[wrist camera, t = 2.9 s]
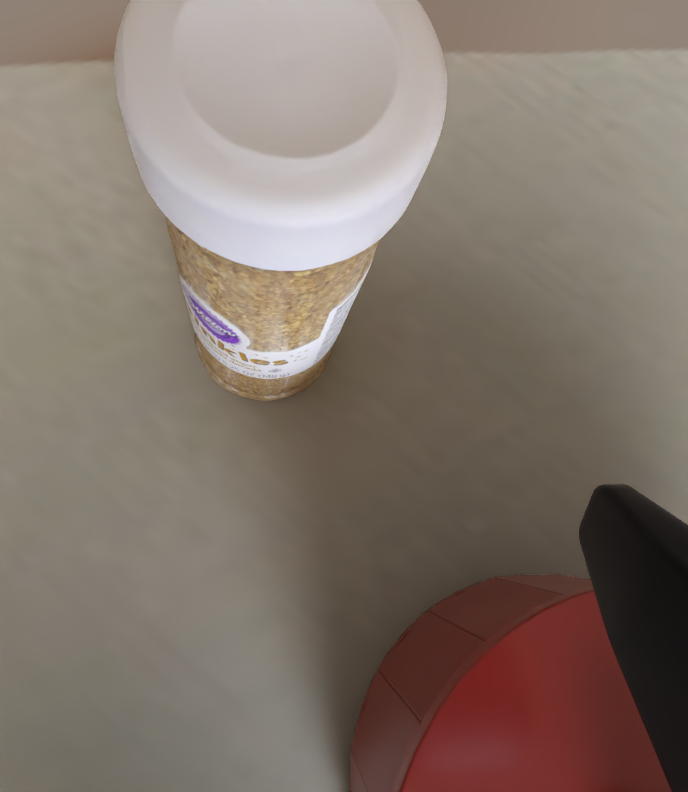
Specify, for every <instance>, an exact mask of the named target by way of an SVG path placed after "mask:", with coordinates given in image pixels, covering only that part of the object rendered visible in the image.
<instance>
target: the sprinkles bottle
mask: <svg viewBox="0 0 688 792" xmlns="http://www.w3.org/2000/svg"><path fill="white" fill-rule="evenodd" d="M114 80H115V87H116V93H117V98H118V103H119V106H120V110H121V114H122V118H123V122H124V126H125V129H126V133H127V137H128V140H129V143H130V147H131V150H132V153H133V156H134V159H135V162H136V165H137V168H138V170H139V173H140V175H141V178H142V180H143V182H144V184H145V187H146V189H147V191H148V192H149V194H150V195H151V197H152V198H153V200H154V201H155V203H156V204H157V206H158V207H159V208H160V210H161V211H162V212H163V213H164V215H165V219H166V222H167V226H168V231H169V235H170V237H171V240H172V243H173V245H174V251H175V254H176V259H177V264H178V274H179V279H180V283H181V287H182V290H183V294H184V298H185V302H186V305H187V309H188V312H189V316H190V319H191V322H192V325H193V328H194V330H195V342H196V347H197V349H198V353H199V356H200V358H201V360H202V362H203V364H204V366H205V367H206V369H207V370H208V372H209V374H210V375H211V377H212V378H213V379H214V380H215V381H217V382H218V383H219V384H220V385H221V386H222V387H223V388H224V389H226V390H228V391H230V392H233V393H235V394H237V395H239V396H241V397H244V398H248V399H255V400H266V401H273V400H277V399H282V398H286V397H289V396H292V395H294V394H296V393H297V392H299V391H302V390H303V389H305V388H306V387H307V386H309V385H310V384H311V383H312V382H313V381H314V380H315V379H316V378H317V377H318V376H319V375H320V374H321V373H322V372H323V369H324V367H325V365H326V362H327V361H328V359H329V357H330V354H331V350H332V346H333V344H334V342H335V340H336V339H337V337H338V335H339V333H340V331H341V328H342V326H343V324H344V322H345V319H346V317H347V315H348V313H349V311H350V308H351V306H352V304H353V302H354V300H355V298H356V296H357V294H358V292H359V290H360V287H361V285H362V283H363V281H364V279H365V277H366V275H367V273H368V271H369V268H370V266H371V263H372V260H373V257H374V253H375V249H376V247H377V245H378V243H379V241H380V238H382V237H383V236H384V235H385V234H386V233H387V232H388V231H389V230H390V229H391V228H392V227H393V226H394V224H395V223H396V222H397V221H398V220H399V219H400V217H401V216H402V214H403V213H404V211H405V210H406V208H407V207H408V205H409V203H410V201H411V199H412V197H413V195H414V193H415V191H416V189H417V187H418V185H419V183H420V181H421V179H422V177H423V175H424V173H425V171H426V169H427V166H428V164H429V162H430V159H431V157H432V155H433V152H434V150H435V147H436V145H437V143H438V140H439V137H440V134H441V131H442V127H443V123H444V119H445V113H446V104H447V71H446V65H445V61H444V58H443V52H442V49H441V46H440V43H439V40H438V38H437V35H436V33H435V31H434V28H433V26H432V24H431V22H430V19H429V17H428V15H427V14H426V12H425V11H424V9H423V7H422V6H421V4H420V3H419V1H418V0H130V1H129V3H128V5H127V7H126V10H125V12H124V15H123V17H122V19H121V22H120V27H119V31H118V35H117V39H116V45H115V54H114Z"/></svg>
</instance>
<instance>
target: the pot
mask: <svg viewBox="0 0 688 792" xmlns="http://www.w3.org/2000/svg"><path fill="white" fill-rule="evenodd" d="M590 586H593V585H592V582H591V580H590V579H584V578H579V577H573V576H568V575H562V574H550V575H526V574H521V575H513V576H504V577H494V578H490V579H488V580H486V581H483V582H479V583H476V584H474V585H471V586H469V587H467V588H464V589H462V590H460V591H457V592H455V593H454V594H452V595H450V596H449V597H447V598H445V599H444V600H442V601H440V602H439V603H437V604H435V605H434V606H433V607H432V608H430V609H429V610H428V611H427V612H425V613H424V614H423V615H422V616H420V617H419V618H418V619H417V620H416V621H415V622H414V623H413V624H412V625H411V626H410V627H409V628H408V629H407V630H406V631H405V632H404V633H403V634H402V635H401V636H400V638H399V639H398V640H397V642H396V643H395V644H394V646H393V647H392V648H391V650H390V651H389V653H388V654H387V655H386V657H385V658H384V660H383V662H382V663H381V665H380V667H379V669H378V671H377V672H376V674H375V676H374V678H373V680H372V682H371V684H370V687H369V689H368V691H367V694H366V696H365V699H364V701H363V704H362V707H361V710H360V714H359V718H358V721H357V725H356V728H355V733H354V739H353V743H352V746H351V751H350V754H351V760H350V792H392V791H393V787H394V784H395V781H396V779H397V776H398V774H399V771H400V768H401V766H402V763H403V761H404V758H405V755H406V753H407V750H408V748H409V745H410V743H411V741H412V740H413V738H414V736H415V734H416V732H417V730H418V728H419V726H420V724H421V723H422V721H423V719H424V717H425V715H426V713H427V711H428V709H429V708H430V707H431V705H432V704H433V702H434V701H435V699H436V698H437V697H438V695H439V694H440V692H441V691H442V689H443V688H444V687H445V685H446V684H447V682H448V681H449V680H450V678H451V677H452V676H453V675H454V673H455V672H456V671H457V670H458V669H459V668H460V667H461V666H462V665H463V664H464V663H465V661H466V660H467V659H468V658H469V657H470V656H471V655H472V654H473V653H474V652H475V651H476V649H477V648H479V647H480V646H481V645H482V644H483V643H485V642H486V641H487V640H488V639H489V638H491V637H492V636H493V635H494V634H495V633H497V632H498V631H499V630H500V629H501V628H503V627H504V626H505V625H507V624H508V623H510V622H511V621H513V620H515V619H516V618H518V617H519V616H521V615H523V614H524V613H526V612H528V611H529V610H531V609H532V608H534V607H536V606H538V605H540V604H542V603H545V602H547V601H549V600H552V599H554V598H556V597H558V596H561V595H563V594H565V593H568V592H571V591H575V590H579V589H582V588H586V587H590Z"/></svg>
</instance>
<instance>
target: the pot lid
mask: <svg viewBox="0 0 688 792" xmlns="http://www.w3.org/2000/svg"><path fill="white" fill-rule="evenodd" d="M392 792H672V791H671V789H670V786H669V784H668V781H667V779H666V777H665V774H664V772H663V769H662V767H661V765H660V762H659V760H658V757H657V755H656V752H655V750H654V748H653V745H652V743H651V740H650V738H649V736H648V733H647V731H646V728H645V726H644V724H643V721H642V719H641V716H640V714H639V711H638V709H637V707H636V704H635V702H634V699H633V697H632V695H631V692H630V690H629V687H628V685H627V682H626V680H625V678H624V675H623V673H622V670H621V668H620V666H619V663H618V661H617V658H616V656H615V653H614V651H613V648H612V646H611V643H610V640H609V638H608V635H607V631H606V628H605V625H604V622H603V619H602V616H601V612H600V609H599V605H598V602H597V599H596V595H595V592H594V588H593V586H590V587H586V588H582V589H579V590H575V591H571V592H568V593H565V594H563V595H561V596H558V597H556V598H554V599H552V600H549V601H547V602H545V603H542V604H540V605H538V606H536V607H534V608H532V609H531V610H529V611H528V612H526V613H524V614H523V615H521V616H519V617H518V618H516V619H515V620H513V621H511V622H510V623H508V624H507V625H505V626H504V627H503V628H501V629H500V630H499V631H498V632H497V633H495V634H494V635H493V636H492V637H491V638H489V639H488V640H487V641H486V642H485V643H483V644H482V645H481V646H480V647H479V648H477V649H476V651H475V652H474V653H473V654H472V655H471V656H470V657H469V658H468V659H467V660H466V661H465V663H464V664H463V665H462V666H461V667H460V668H459V669H458V670H457V671H456V672H455V673H454V675H453V676H452V677H451V678H450V680H449V681H448V682H447V684H446V685H445V687H444V688H443V689H442V691H441V692H440V694H439V695H438V697H437V698H436V699H435V701H434V702H433V704H432V705H431V707H430V708H429V709H428V711H427V713H426V715H425V717H424V719H423V721H422V723H421V724H420V726H419V728H418V730H417V732H416V734H415V736H414V738H413V740H412V741H411V743H410V745H409V748H408V750H407V753H406V755H405V758H404V761H403V763H402V766H401V768H400V771H399V774H398V776H397V779H396V781H395V784H394V787H393V791H392Z"/></svg>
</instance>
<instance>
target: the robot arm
mask: <svg viewBox="0 0 688 792" xmlns="http://www.w3.org/2000/svg"><path fill="white" fill-rule="evenodd" d="M579 540H580V545H581V548H582V551H583V555H584V558H585V561H586V565H587V568H588V572H589V575H590V578H591V582H592V585H593V588H594V592H595V595H596V599H597V602H598V605H599V609H600V612H601V616H602V619H603V622H604V625H605V628H606V631H607V635H608V638H609V640H610V643H611V646H612V648H613V651H614V653H615V656H616V658H617V661H618V663H619V666H620V668H621V670H622V673H623V675H624V678H625V680H626V682H627V685H628V687H629V690H630V692H631V695H632V697H633V699H634V702H635V704H636V707H637V709H638V711H639V714H640V716H641V719H642V721H643V724H644V726H645V728H646V731H647V733H648V736H649V738H650V740H651V743H652V745H653V748H654V750H655V752H656V755H657V757H658V760H659V762H660V765H661V767H662V769H663V772H664V774H665V777H666V779H667V781H668V784H669V786H670V789H671V791H672V792H688V525H687V524H685V523H684V522H682V521H681V520H679V519H678V518H676V517H675V516H674V515H672V514H671V513H669V512H668V511H666V510H665V509H663V508H662V507H660V506H659V505H657V504H656V503H654V502H653V501H651V500H650V499H648V498H647V497H645V496H644V495H642V494H641V493H639V492H638V491H636V490H635V489H633V488H632V487H630V486H628V485H624V484H603V485H599V486H598V487H597V488H596V489H595V490H594V492H593V494H592V496H591V499H590V501H589V503H588V506H587V508H586V511H585V513H584V516H583V518H582V521H581V523H580V527H579Z"/></svg>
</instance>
